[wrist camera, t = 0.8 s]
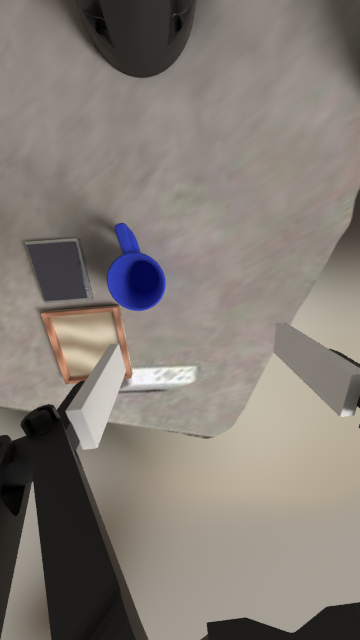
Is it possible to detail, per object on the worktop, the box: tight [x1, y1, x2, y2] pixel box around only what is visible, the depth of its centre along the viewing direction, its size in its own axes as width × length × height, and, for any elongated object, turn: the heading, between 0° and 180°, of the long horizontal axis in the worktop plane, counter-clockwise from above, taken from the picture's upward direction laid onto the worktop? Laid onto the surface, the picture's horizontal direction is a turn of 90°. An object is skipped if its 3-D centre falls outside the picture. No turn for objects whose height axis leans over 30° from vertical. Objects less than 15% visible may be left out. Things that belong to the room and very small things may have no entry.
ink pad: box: [25, 238, 94, 303], centre depth 33 cm, size 11×9×1 cm
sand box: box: [41, 305, 133, 384], centre depth 38 cm, size 17×15×2 cm
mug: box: [107, 223, 165, 311], centre depth 29 cm, size 8×12×10 cm
